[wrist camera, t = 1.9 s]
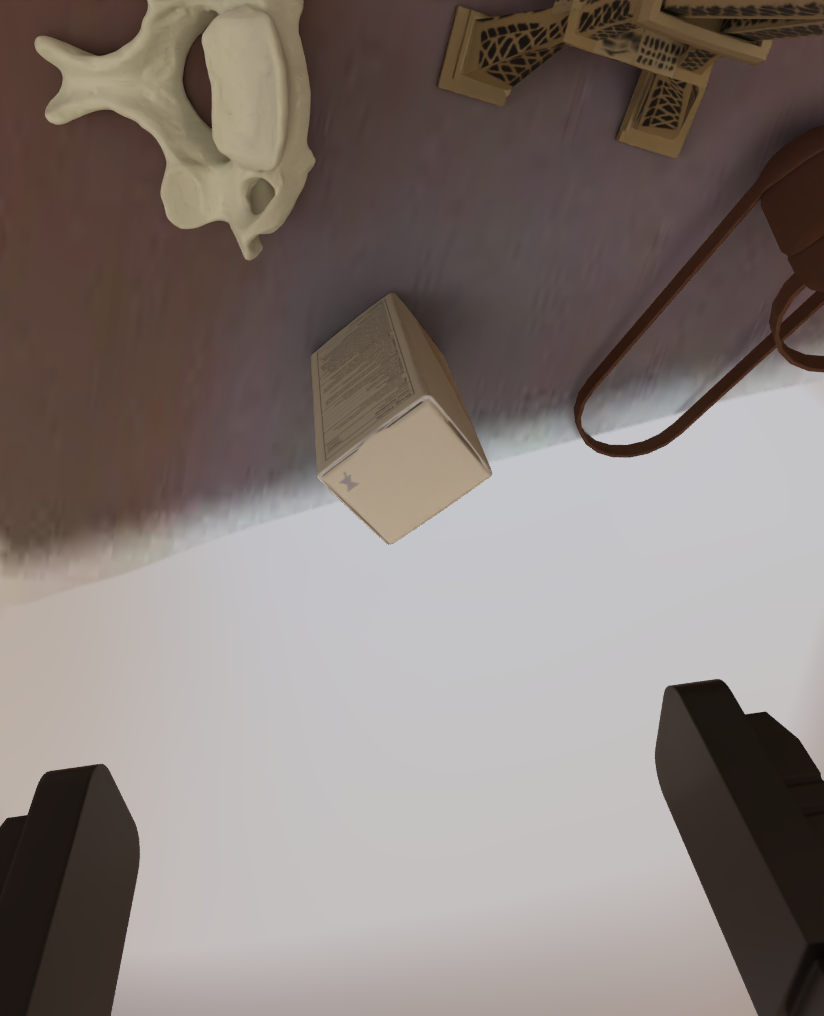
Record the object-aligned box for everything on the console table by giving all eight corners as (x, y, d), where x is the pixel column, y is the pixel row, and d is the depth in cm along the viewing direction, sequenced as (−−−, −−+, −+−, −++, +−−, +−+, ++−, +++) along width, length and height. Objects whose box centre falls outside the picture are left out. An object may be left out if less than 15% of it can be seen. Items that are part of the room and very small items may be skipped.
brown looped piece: (952, 227, 23) (1064, 325, 26) (833, 49, 30) (932, 143, 33) (554, 518, 36) (661, 562, 38) (534, 345, 42) (626, 394, 45)
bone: (45, 262, 29) (101, 230, 33) (304, 279, 29) (330, 244, 33) (-51, -149, 23) (35, -127, 27) (284, -142, 22) (319, -120, 26)
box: (364, 416, 38) (382, 553, 29) (307, 353, 36) (308, 480, 27) (450, 353, 37) (498, 477, 28) (396, 284, 35) (428, 393, 26)
